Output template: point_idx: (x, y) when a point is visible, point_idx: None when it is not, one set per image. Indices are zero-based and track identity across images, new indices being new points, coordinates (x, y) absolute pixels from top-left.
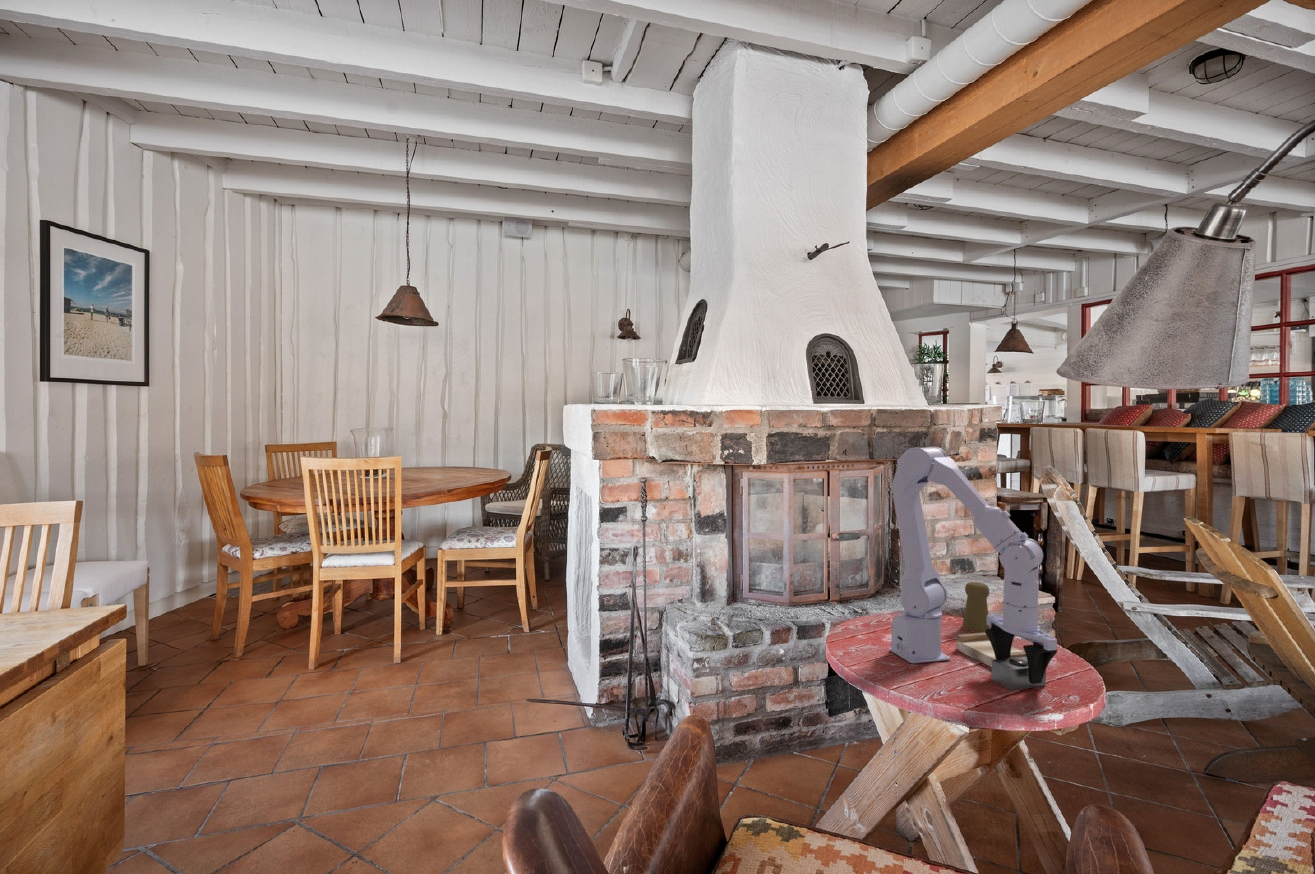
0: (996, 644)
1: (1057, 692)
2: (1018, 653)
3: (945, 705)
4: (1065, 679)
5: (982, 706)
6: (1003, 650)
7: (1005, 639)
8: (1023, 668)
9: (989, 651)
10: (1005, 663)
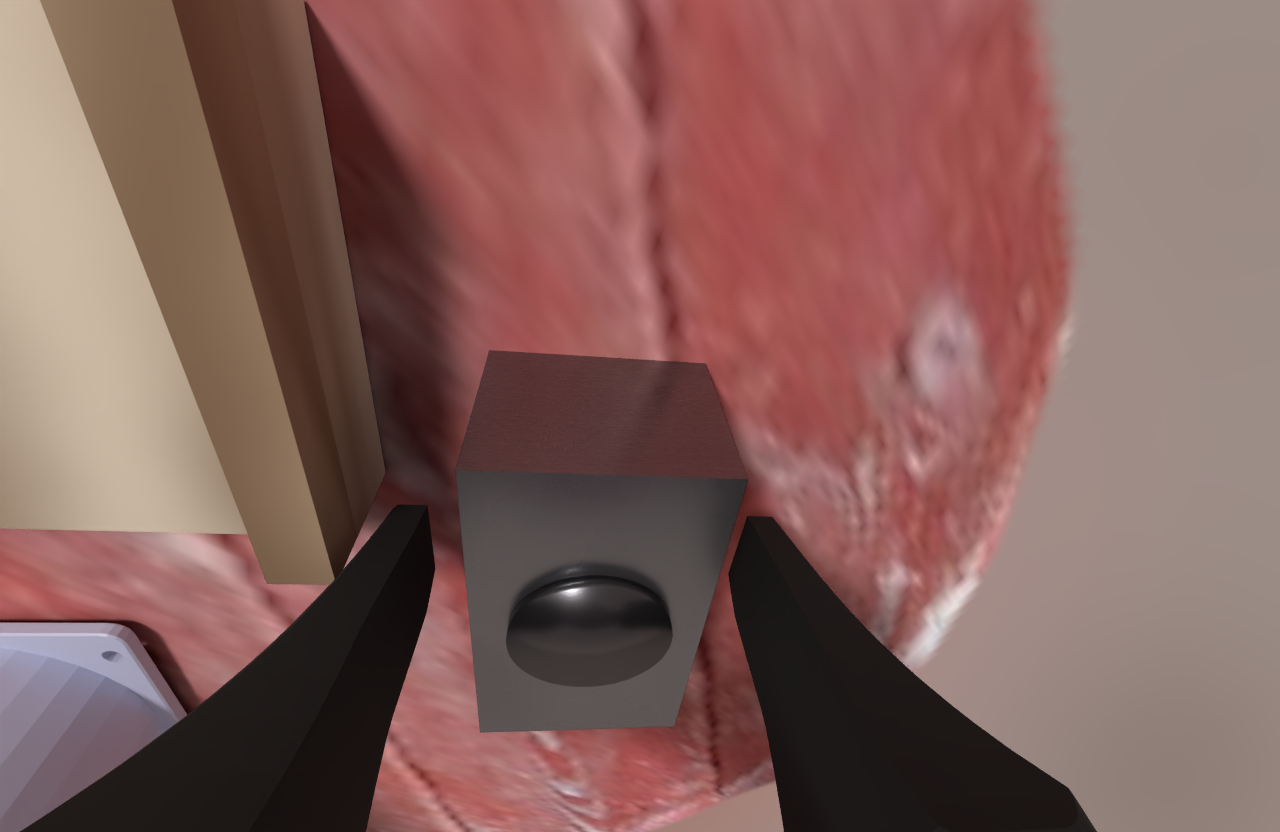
0: (368, 809)
1: (826, 386)
2: (247, 378)
3: (665, 815)
4: (692, 3)
5: (728, 752)
6: (380, 683)
7: (325, 814)
8: (692, 658)
9: (10, 444)
10: (565, 699)
